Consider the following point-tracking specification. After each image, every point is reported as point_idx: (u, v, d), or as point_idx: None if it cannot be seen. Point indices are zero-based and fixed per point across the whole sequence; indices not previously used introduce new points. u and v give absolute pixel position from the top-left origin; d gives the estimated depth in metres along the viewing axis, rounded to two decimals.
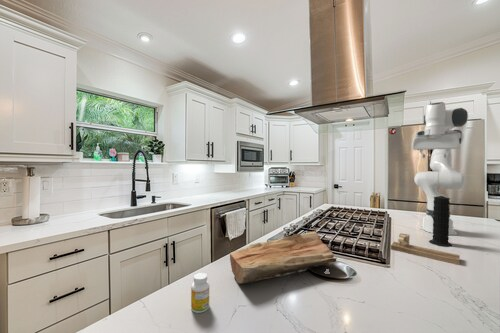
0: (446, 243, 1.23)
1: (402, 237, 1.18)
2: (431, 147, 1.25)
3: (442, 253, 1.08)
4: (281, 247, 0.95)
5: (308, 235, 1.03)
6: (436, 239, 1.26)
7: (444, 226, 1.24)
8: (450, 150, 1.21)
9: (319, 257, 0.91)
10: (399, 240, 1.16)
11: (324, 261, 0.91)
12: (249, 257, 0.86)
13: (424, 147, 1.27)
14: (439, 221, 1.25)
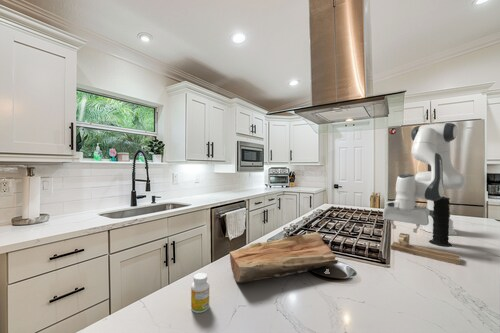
0: (446, 243, 1.23)
1: (402, 237, 1.18)
2: (401, 220, 1.22)
3: (442, 253, 1.08)
4: (282, 248, 0.95)
5: (310, 236, 1.02)
6: (436, 239, 1.26)
7: (444, 226, 1.24)
8: (419, 225, 1.18)
9: (319, 258, 0.90)
10: (399, 240, 1.16)
11: (324, 262, 0.89)
12: (248, 256, 0.87)
13: (394, 219, 1.24)
14: (439, 221, 1.25)
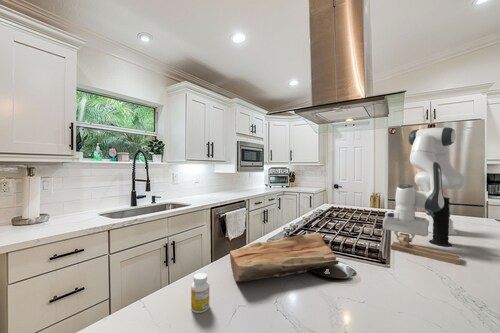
0: (446, 243, 1.23)
1: (402, 237, 1.18)
2: (401, 230, 1.23)
3: (442, 253, 1.08)
4: (282, 248, 0.95)
5: (311, 236, 1.01)
6: (436, 239, 1.26)
7: (444, 226, 1.24)
8: (414, 235, 1.20)
9: (320, 259, 0.90)
10: (399, 240, 1.16)
11: (325, 263, 0.89)
12: (247, 255, 0.88)
13: (394, 229, 1.25)
14: (439, 221, 1.25)
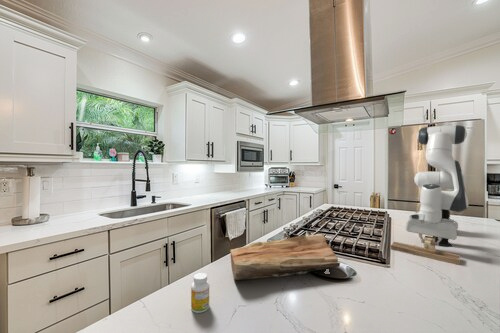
0: (446, 243, 1.23)
1: (428, 241, 1.10)
2: (426, 233, 1.15)
3: (442, 253, 1.08)
4: (282, 248, 0.94)
5: (313, 237, 1.00)
6: (436, 239, 1.26)
7: None
8: (441, 238, 1.13)
9: (320, 260, 0.89)
10: (426, 243, 1.09)
11: (325, 265, 0.87)
12: (246, 254, 0.89)
13: (419, 231, 1.17)
14: None
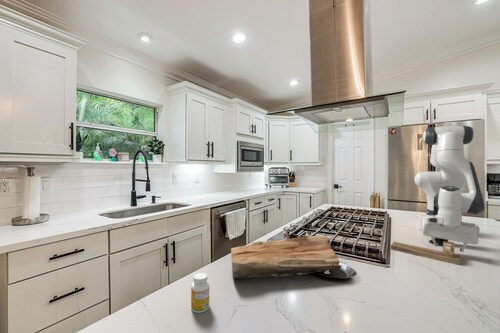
0: None
1: (448, 246, 1.06)
2: (445, 237, 1.10)
3: (442, 253, 1.08)
4: (283, 248, 0.94)
5: (316, 238, 0.98)
6: (436, 239, 1.26)
7: None
8: None
9: (320, 262, 0.87)
10: (446, 250, 1.04)
11: (325, 267, 0.86)
12: (246, 253, 0.90)
13: (437, 236, 1.12)
14: None
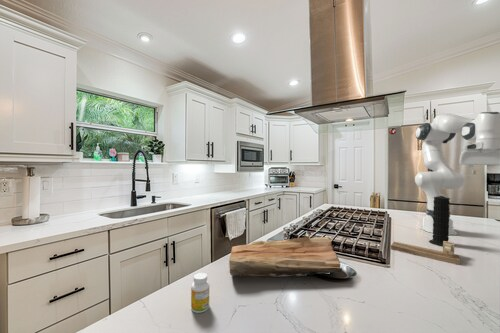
0: None
1: (448, 246, 1.06)
2: (484, 163, 1.09)
3: (442, 253, 1.08)
4: (283, 248, 0.94)
5: (318, 240, 0.97)
6: (436, 239, 1.26)
7: (444, 226, 1.24)
8: None
9: (320, 264, 0.86)
10: (446, 250, 1.04)
11: (324, 269, 0.84)
12: (245, 252, 0.91)
13: (475, 162, 1.11)
14: (439, 221, 1.25)
